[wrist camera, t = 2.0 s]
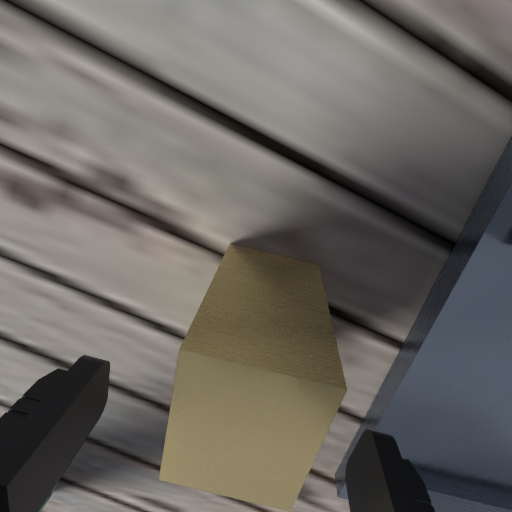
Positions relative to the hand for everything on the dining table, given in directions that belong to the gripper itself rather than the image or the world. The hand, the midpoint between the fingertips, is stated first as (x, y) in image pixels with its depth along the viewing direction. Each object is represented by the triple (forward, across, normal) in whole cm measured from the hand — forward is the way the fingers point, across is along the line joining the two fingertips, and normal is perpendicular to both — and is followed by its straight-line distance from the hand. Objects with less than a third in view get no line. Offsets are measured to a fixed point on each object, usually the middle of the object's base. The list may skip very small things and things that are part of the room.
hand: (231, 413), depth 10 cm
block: (+6, 0, -1) cm, 6 cm away
